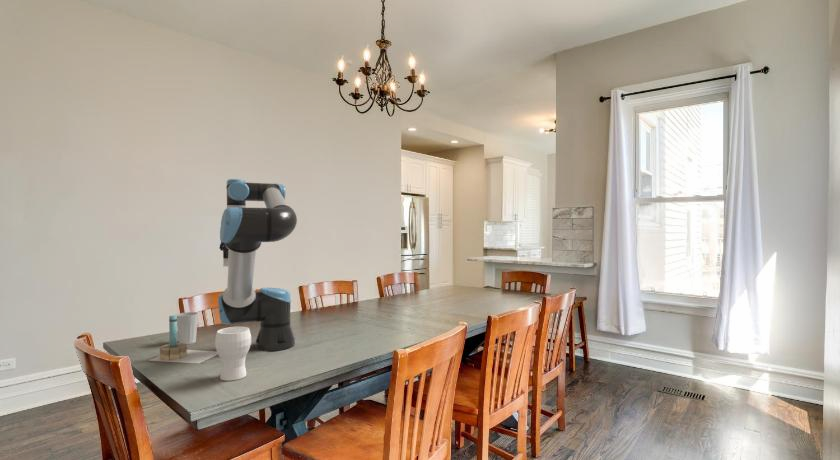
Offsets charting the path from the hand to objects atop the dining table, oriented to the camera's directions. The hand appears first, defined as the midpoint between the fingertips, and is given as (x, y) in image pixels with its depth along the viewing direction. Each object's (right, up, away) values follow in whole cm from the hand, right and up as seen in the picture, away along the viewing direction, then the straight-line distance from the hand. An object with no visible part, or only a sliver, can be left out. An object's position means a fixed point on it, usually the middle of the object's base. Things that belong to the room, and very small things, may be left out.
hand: (236, 265), depth 182 cm
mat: (-7, -32, -26) cm, 42 cm away
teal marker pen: (-11, -32, -27) cm, 43 cm away
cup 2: (+19, -32, -46) cm, 59 cm away
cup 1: (-17, -32, -7) cm, 37 cm away
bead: (-11, -32, -27) cm, 43 cm away
